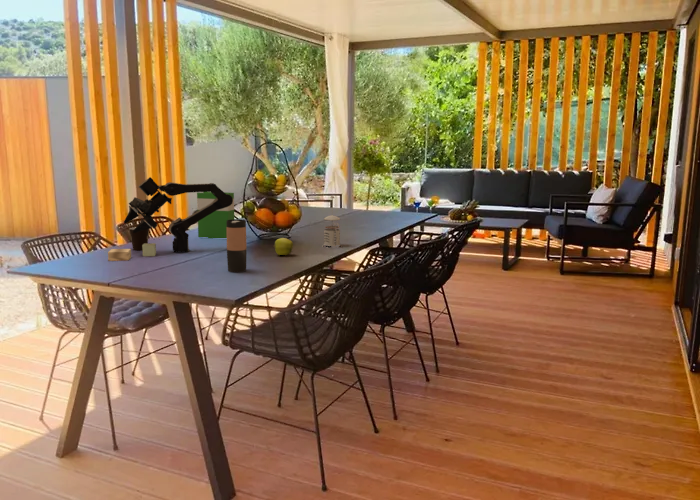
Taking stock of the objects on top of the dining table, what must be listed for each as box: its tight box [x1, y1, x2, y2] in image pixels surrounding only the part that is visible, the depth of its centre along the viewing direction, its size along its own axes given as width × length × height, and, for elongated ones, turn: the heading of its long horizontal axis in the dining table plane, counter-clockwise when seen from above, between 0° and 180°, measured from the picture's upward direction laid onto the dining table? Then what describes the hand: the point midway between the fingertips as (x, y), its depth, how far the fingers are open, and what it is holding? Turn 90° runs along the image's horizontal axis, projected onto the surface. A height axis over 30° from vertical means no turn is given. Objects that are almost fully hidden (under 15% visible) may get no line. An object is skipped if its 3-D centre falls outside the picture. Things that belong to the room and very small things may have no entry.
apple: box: [273, 237, 294, 256], centre depth 269 cm, size 8×9×8 cm
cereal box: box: [196, 191, 235, 239], centre depth 317 cm, size 18×7×24 cm, turn 75°
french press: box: [323, 195, 341, 246], centre depth 294 cm, size 10×12×25 cm
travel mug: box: [226, 218, 248, 273], centre depth 234 cm, size 8×8×20 cm
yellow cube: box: [141, 242, 157, 257], centre depth 266 cm, size 5×5×5 cm
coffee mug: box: [129, 226, 150, 252], centre depth 281 cm, size 12×9×10 cm
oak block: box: [107, 248, 132, 262], centre depth 256 cm, size 8×8×4 cm
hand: (128, 227), depth 265 cm, fingers open, 9 cm apart
